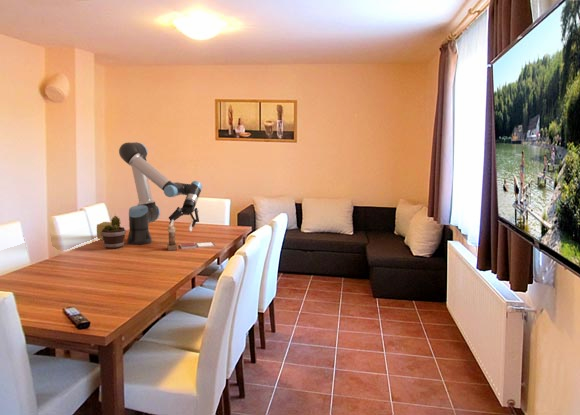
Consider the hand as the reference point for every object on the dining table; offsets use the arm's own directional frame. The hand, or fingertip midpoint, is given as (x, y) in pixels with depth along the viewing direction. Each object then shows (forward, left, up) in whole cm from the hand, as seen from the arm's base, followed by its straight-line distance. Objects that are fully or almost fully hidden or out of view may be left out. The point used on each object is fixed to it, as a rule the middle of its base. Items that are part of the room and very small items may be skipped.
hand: (179, 230), depth 274 cm
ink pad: (-1, +5, -11) cm, 12 cm away
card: (-3, +16, -11) cm, 20 cm away
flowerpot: (-12, -39, -11) cm, 42 cm away
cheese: (-42, -44, -11) cm, 61 cm away
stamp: (+3, -5, -11) cm, 13 cm away
